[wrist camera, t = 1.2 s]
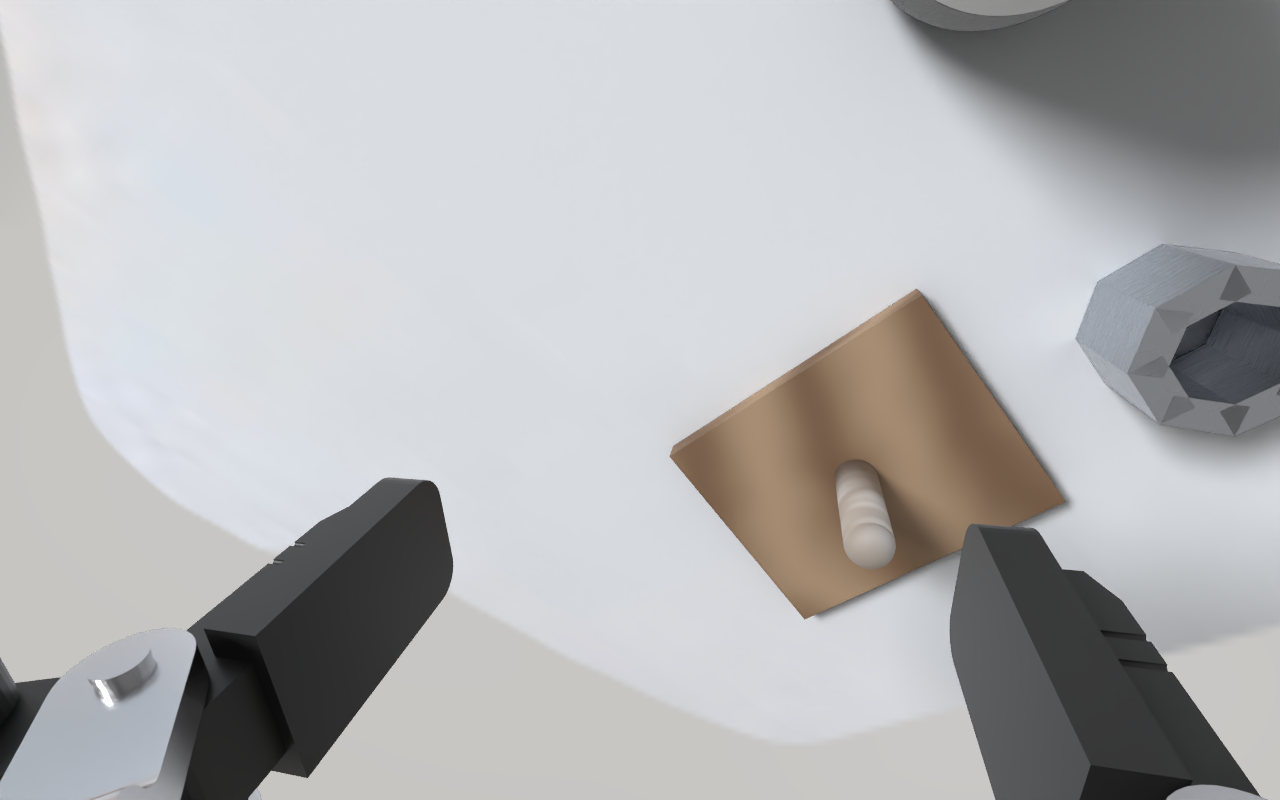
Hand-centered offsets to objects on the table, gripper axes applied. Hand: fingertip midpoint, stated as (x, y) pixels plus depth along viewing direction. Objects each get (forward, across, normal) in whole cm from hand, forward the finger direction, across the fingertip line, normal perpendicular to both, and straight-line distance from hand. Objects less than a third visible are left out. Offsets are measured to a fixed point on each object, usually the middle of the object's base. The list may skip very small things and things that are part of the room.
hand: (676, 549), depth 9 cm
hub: (+22, -17, +2) cm, 27 cm away
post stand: (+21, -5, +10) cm, 24 cm away
